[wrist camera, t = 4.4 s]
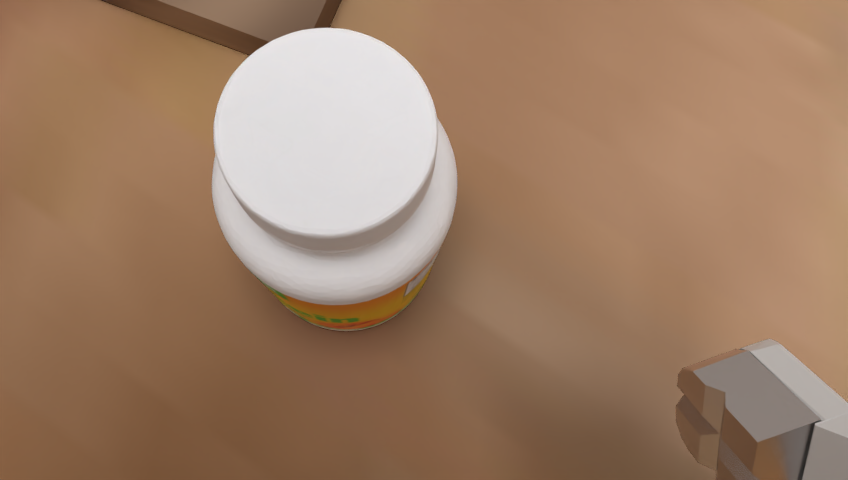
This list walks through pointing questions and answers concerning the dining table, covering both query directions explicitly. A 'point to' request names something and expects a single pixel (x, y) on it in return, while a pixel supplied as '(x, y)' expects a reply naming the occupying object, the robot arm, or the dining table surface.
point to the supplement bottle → (333, 176)
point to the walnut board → (237, 18)
